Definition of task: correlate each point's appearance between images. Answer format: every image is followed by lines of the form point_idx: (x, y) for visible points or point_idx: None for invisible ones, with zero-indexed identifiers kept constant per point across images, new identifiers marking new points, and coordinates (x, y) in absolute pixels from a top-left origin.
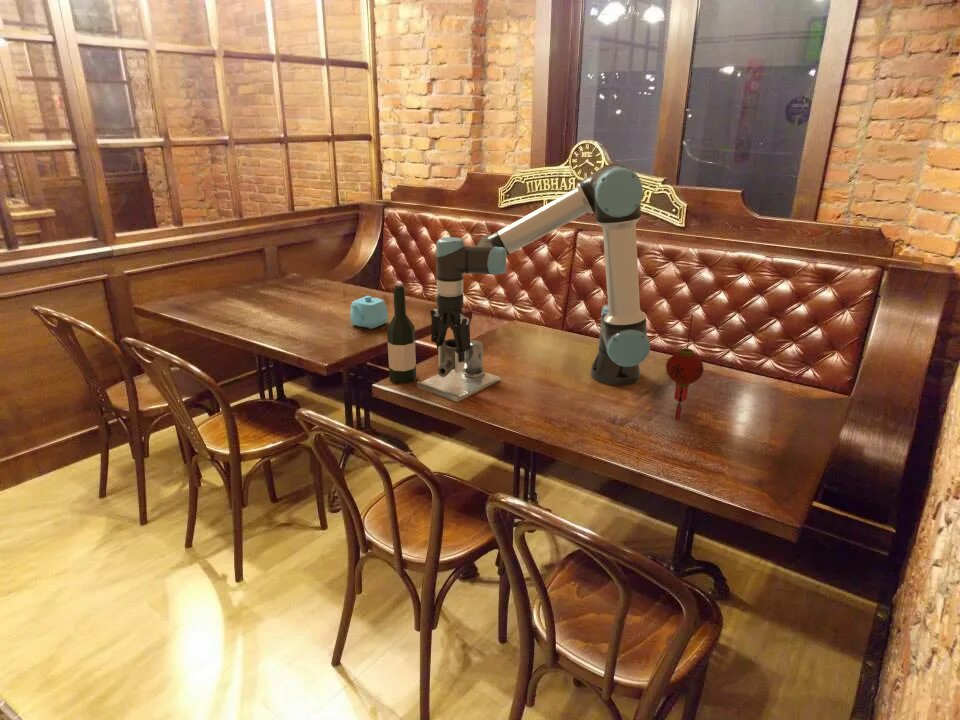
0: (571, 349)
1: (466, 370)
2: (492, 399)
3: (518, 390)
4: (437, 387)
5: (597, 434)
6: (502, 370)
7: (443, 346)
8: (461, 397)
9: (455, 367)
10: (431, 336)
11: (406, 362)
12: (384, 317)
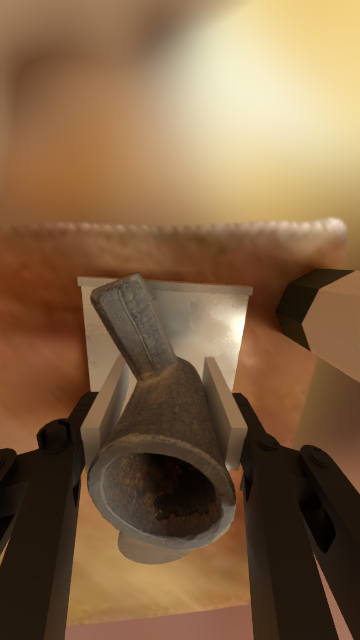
0: (94, 588)
1: None
2: (27, 347)
3: (23, 420)
4: (182, 302)
5: None
6: None
7: (199, 436)
8: (83, 296)
9: (121, 365)
10: (354, 491)
11: (343, 304)
12: None
